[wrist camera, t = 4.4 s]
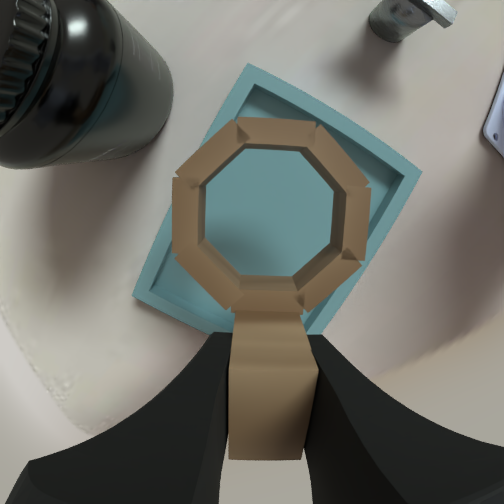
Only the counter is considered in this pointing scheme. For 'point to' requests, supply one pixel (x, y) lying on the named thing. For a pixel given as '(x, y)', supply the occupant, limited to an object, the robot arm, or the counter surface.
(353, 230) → the ring
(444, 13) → the grey cylinder and bar
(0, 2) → the supplement bottle
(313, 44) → the counter surface
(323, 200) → the tray
